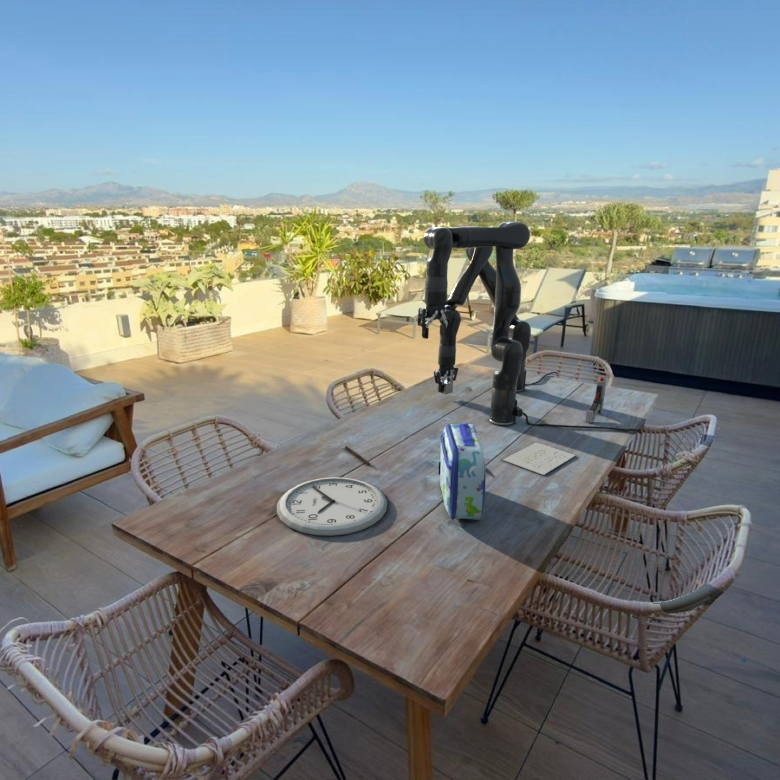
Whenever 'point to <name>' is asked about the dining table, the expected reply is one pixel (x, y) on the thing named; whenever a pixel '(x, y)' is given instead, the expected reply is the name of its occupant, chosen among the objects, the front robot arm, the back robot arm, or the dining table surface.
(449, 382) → the block
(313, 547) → the dining table surface
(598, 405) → the toy gun
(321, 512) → the wall clock
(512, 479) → the dining table surface
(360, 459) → the brown thin stick
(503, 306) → the front robot arm
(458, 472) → the lunch box
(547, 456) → the invitation card
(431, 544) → the dining table surface
